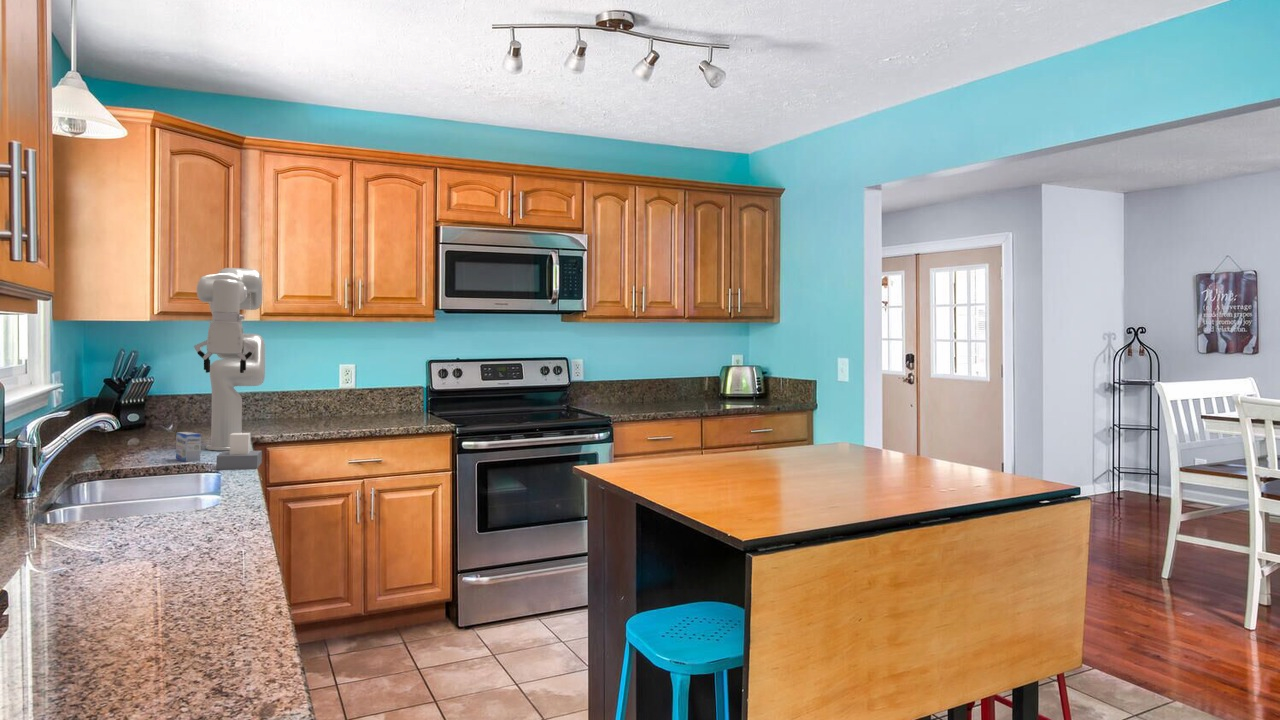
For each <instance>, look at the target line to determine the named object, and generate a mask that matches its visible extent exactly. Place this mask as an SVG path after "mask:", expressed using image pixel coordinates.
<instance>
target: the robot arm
mask: <svg viewBox="0 0 1280 720" xmlns="http://www.w3.org/2000/svg"><path fill="white" fill-rule="evenodd" d="M196 295H197V298H198V300H199V301H200V302H202V303H208V304H209V310H210V313H211V314H212V315H211V317H212V319H211V320H212V321H211V322H209V325H208V326H209V327H208V332H207V336H206V337H207V338H206V340H204V341H202V342H199V343H196V344H195V345H194V346H193V348H194V349H195V352H196V353H197V355H198V356H199V357H200V358H201V359H202V360H203V371H205V373H206V374H208V373H209V379H210V386H211V387H210V388H211V427H210V429H211V430H210V433H211V434H210V435H211V436H210V438H211V439H210V444H206V446H205V449H206V450H208V451H221V452H222V451H230V434H232V433H243V431H242V426H243V424H242V423H243V420H242V419H243V399H242V396H241V394H240V393H239V392H238V391H237V390H236V389H235V388H236V387H258V386H261V385H263V384H264V382H265V377H266V345H265V340H264V337H263V336H261V334H256V333H244V327H243V323H242V320H244V321H245V315H242V314H240V310H241V311H242V310H245V311H246V310H248V311H249V310H250V311H255V310H258V309H260V308H261V306H262V303H263V278H262V275H261V274H260V272H259V271H258V270H256V269H254V268H243V267H242V268H240V267H239V268H238V267H225V268H222V269H220V270H219V271H218V272H217V273H215V274H214V273H213V274H207V275H203V276H201V277H200V278H199V280H198V282H197V286H196ZM205 346H206V351H207V352H206V353H205V352H204V351H203V350H202V349H201V348H203V347H205ZM212 355H216V356H217V357H218V358H220V359H216V360H214V361H213V362H211V359H210V357H211V356H212Z"/></svg>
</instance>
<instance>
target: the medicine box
mask: <svg viewBox="0 0 1280 720" xmlns="http://www.w3.org/2000/svg"><path fill="white" fill-rule="evenodd" d="M175 439H176V440H175V441H176V442H175V460H177V461H182V462H186V463H188V462H191V463H192V462H198V461H199V462H200V461H201V452H202V451H201V449H202V448H201V447H202V434H200V433H197V432H191V431H179V432H176V438H175Z"/></svg>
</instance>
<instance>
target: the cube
mask: <svg viewBox="0 0 1280 720" xmlns="http://www.w3.org/2000/svg"><path fill="white" fill-rule="evenodd" d="M229 451H230V455H234V454H249V453H250V451H251V432H242V433H232V434H230V450H229Z"/></svg>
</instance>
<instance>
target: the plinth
mask: <svg viewBox="0 0 1280 720" xmlns="http://www.w3.org/2000/svg"><path fill="white" fill-rule="evenodd" d="M262 453H263V451H262V450H250V453H249V454H234V455H230V450H222V451H221V452H220V453H219V454H217V455H216V463H215V464H216V470H217V471H218V470H249V469H250V470H251V469H252V470H253V469H254V470H255V469H256V468H257V469H258V468H260V465H261V464H262V463H263V462H262V460H263V454H262Z"/></svg>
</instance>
